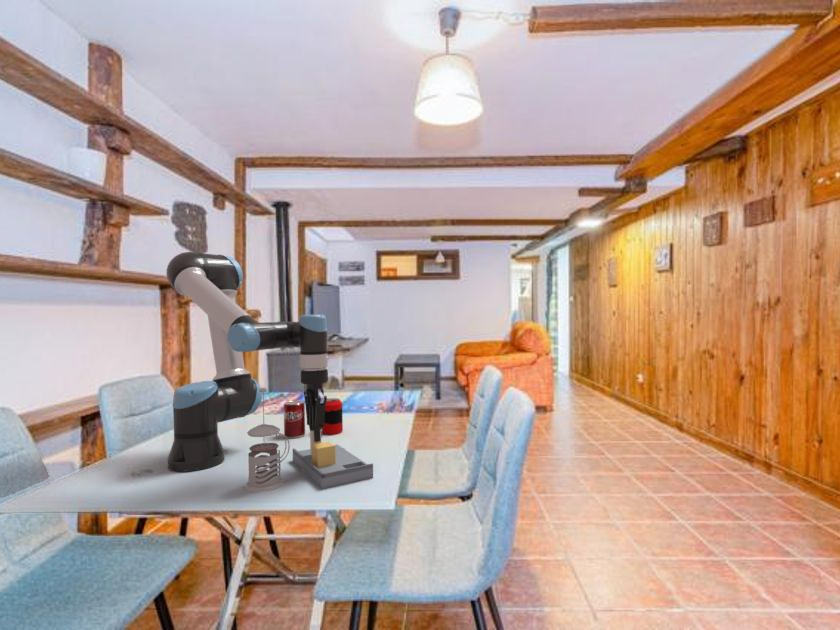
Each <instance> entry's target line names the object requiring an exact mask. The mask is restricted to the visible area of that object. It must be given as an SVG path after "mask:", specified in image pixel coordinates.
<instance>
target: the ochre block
mask: <svg viewBox="0 0 840 630" xmlns="http://www.w3.org/2000/svg"><path fill="white" fill-rule="evenodd" d="M335 445H336V444H333V443H332V442H330V441H323V442H322V441H321V443H316V444H312V463H313V464H315V465H316V466H317V467H322V466H327V465H332V464H336V459H335Z"/></svg>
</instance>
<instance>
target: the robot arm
mask: <svg viewBox="0 0 840 630" xmlns="http://www.w3.org/2000/svg"><path fill="white" fill-rule="evenodd" d="M243 278H244V277H243V271H242V268H241V265H240V264H239V262H238V261H237V260H236V259H235V258H233V257H231V256H228V255H223V254H211V253H205V252H193V251H185V252H182V253H179V254H177V255H175V256H174V257H173V258H172V259H171V260H169V262H168V264H167V267H166V279H167V281H168V283H169V285H170V286H171V287H172V288H173V290H174V291H176V292H177V293H178V294H180V295H181V296H187V297H188V299H190V300H191V301H192V302H193V303H194V304H195V305H196V306H198V307H199V308H200V309H201V310H202V311H203V312H204V313H205V314H206V315H207V319H208V320H207V321H208V326H209V334H210V339H211V345H212V353H213V357H214V358H213V359H214V364H215V365H214V366H215V372H216V373H215V376H214V377H213V378H212V380H203V381H199V382H197V381H196V382H191V383H187V384H185V385H182V386H180V387H178V388H177V389H176V390H175V391H174V393H173V399H172V400H173V401H172V408H173V409H172V410H173V442H172V445H171V448H170V452H169V455H168V458H167V469H168V470H170V471H173V472H193V471H200V470H204V469H209V468H213V467H214V466H218V465H220V464H221V463H223V462H224V461H225V450H224V447H223V444H222V442H221V440H220V437H219V434H218V433H219V432H218V431H219V430H218V424H219V423H223V422H226V421H227V422H228V421H230V420H236V419H238V418H240V419H241V418H245V417H246V416H250V415H252V414H254V413H255V412H256V411H257V410H258V408H259V406H260V405H261V403H262V400H263V392H259V389H260V388H262V386H261V385H260V383H259V382H258V381H257V380H256V379H253V378H252V373H251V371H248V370H247V369H246V367H245V362H244V355H243V352H244V353H246V352H247V353H249V352H250V353H251V352H255V351H263V350H273V349H274V350H275V349H285V348H299V352H300V354H299V366H300V369H301V370H300V382H301V384H303V385H306V389H305V390H303V396H304V403H305V416H306V417H305V418H306V425H307V426H308V428H309V437H310V438H309V442H310V443H309V444H310V447H309V448H310V452H311V453H312V444H316V443H322V428H324V421H325V406H326V401H327V399H328V398H327V395H324V394H325V391H324V388H323V384H326V383H327V382H328V381H329V371H328V365H329V364H328V360H329V359H330V356H329V355H328V331H329V330H328V323H327V317H326V316H325V315H324V314H300V316H299V321H276V322H274V321H271V322H258V321H257V320H256V319H255V318H253V317H252V316H251V315H250V314H249V313H247V311H245V310H244V309H243V308H242V307H241V306H239V305H238V304H237V303H236V302H235V296H237V294H238V289H239V288H240V287H241V285H242V284H243V283H242V281H243Z"/></svg>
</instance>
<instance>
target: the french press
mask: <svg viewBox="0 0 840 630" xmlns="http://www.w3.org/2000/svg"><path fill="white" fill-rule="evenodd" d="M267 391H268V388H267V387H261V388H260V389H259V392H262V415H263V416H262V417H263V418H262V421H263V423H262V424H260V425H259V424H258V425H256V426H255V427H254V426H253V427H252V428H250V429H249V430H248V431H247V435H248V436H249V437H252V438H266V437H271V436H274V435H275V438H276V439H277V440H280V438H281V437H280V436H282V437H283V439H284V442H285V443H284V444H285V448H284V452H283V454H282V455H281V450H280V449H278V447H279V444H278V443H277V442H276V443H275V442H265V441H266V440H263V442H260V443H256V444H253V445H251V446H250V447H249V449H248V450H250V452H248V456H247V457H248V461H247V462H248V482H246V483H245V485H244V490H245V491H249V492H257V493H259V492H268V491H273V490H276V489H278V488H281V486H283V485H284V484H285V480H284V479H283V478H282V477H281V463H282V462H283V461H284V460H285V459H286V458H287V456H288V455H289V452H290V440H289V438H287V437H286V436H285V435H284V433H280V431H281V428H279V427H277V426H276V425H273V424H267V423H265V399H264V398H265V397H264V394H265V393H267ZM287 443H288V448H287ZM286 450H287V452H286ZM262 453H263V454H262ZM264 453H265V454H264ZM259 454H261V455H259ZM267 454H269V455H267ZM285 454H286V455H285ZM257 455H258V456H257ZM284 455H285V456H284Z"/></svg>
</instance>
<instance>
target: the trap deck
mask: <svg viewBox="0 0 840 630" xmlns="http://www.w3.org/2000/svg"><path fill="white" fill-rule="evenodd" d="M334 445H335V459H336V464H332V465H327V466H322V467H317V466H316V465H315V464H313V463H312V453H311V452H310V449H309V448H308V449H303V450H297V449H296V448H292V461H293V463H295V464H296V466H298V468H299V469H301V470H302V471H303V472H304V473H306V475H308V476H309V478H310V479H312V481H314V482H315V483H316V484H317V485H318V486H319V487H320V488H321V489H326V488H331V487H336V486H339V485H345V484H348V483H353V482H358V481H362V480H366V479H371V478H373V477H374V463H367V462H365V461H363V460H362V459H361V458H359V457H358V456H356V455H354V454H353V453H351V452H350V451H348V450H346V449H345V448H343V447H342V446H340V445H339V444H338V443H337V444H334Z"/></svg>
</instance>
